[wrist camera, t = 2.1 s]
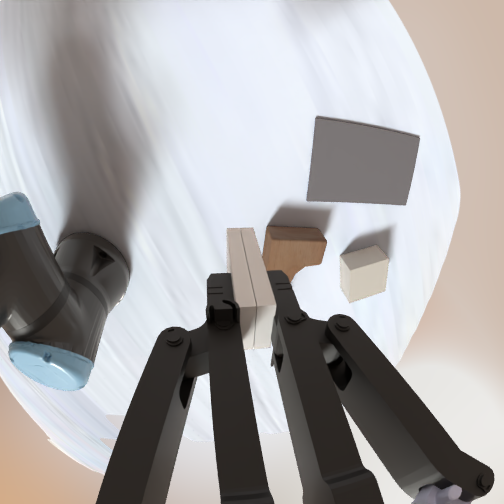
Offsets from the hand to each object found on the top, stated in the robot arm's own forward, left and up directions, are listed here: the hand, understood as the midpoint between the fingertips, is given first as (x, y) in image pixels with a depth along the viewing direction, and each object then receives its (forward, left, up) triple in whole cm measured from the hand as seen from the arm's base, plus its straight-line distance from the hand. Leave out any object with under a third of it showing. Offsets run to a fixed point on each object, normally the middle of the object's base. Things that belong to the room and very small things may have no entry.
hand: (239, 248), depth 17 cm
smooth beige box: (+26, -20, -25) cm, 41 cm away
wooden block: (+11, -11, -22) cm, 27 cm away
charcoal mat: (+23, 0, -24) cm, 33 cm away
